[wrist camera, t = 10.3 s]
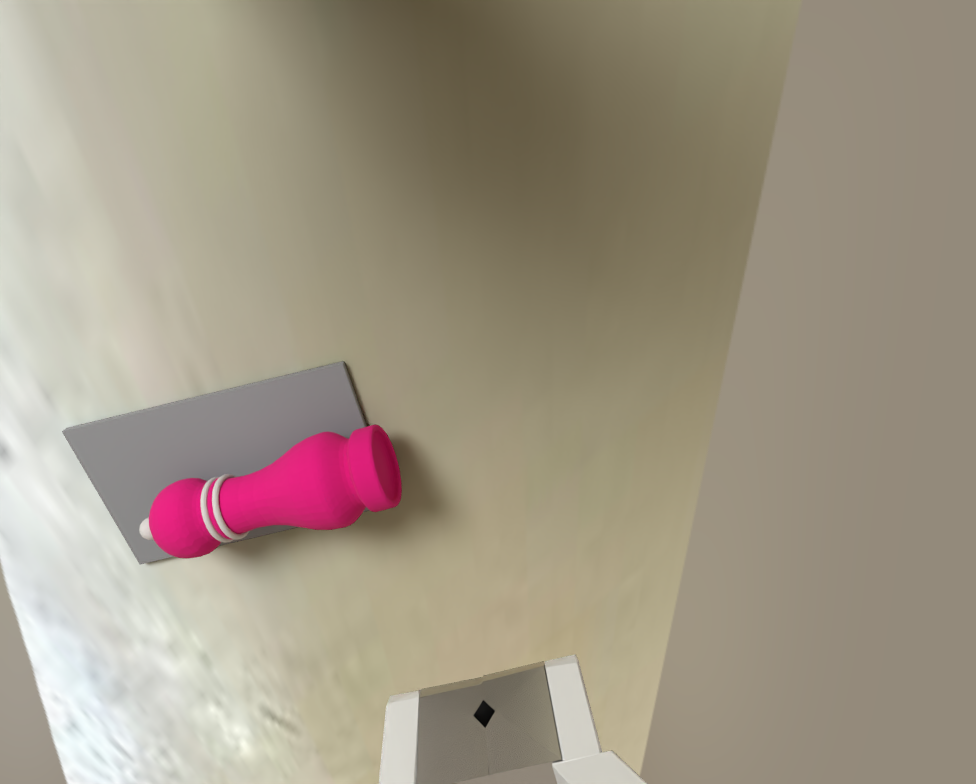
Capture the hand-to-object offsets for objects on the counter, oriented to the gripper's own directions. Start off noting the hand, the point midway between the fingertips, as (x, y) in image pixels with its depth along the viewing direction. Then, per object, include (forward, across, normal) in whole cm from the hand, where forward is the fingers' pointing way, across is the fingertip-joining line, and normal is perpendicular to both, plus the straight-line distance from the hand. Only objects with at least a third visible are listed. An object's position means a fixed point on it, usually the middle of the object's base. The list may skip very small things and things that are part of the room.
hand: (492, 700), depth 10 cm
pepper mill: (+33, +8, +13) cm, 36 cm away
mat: (+37, +21, +12) cm, 44 cm away
